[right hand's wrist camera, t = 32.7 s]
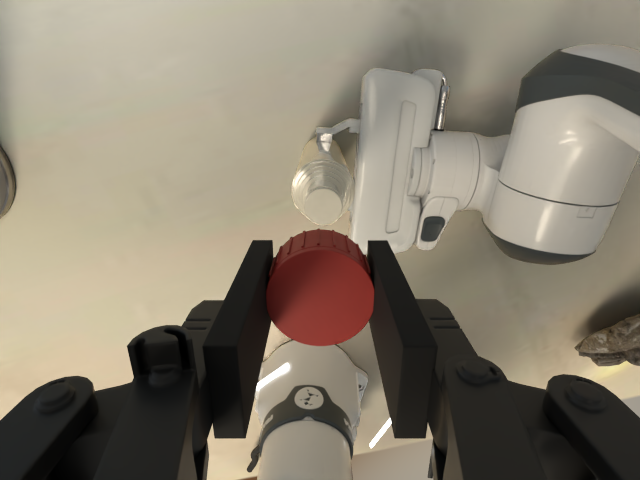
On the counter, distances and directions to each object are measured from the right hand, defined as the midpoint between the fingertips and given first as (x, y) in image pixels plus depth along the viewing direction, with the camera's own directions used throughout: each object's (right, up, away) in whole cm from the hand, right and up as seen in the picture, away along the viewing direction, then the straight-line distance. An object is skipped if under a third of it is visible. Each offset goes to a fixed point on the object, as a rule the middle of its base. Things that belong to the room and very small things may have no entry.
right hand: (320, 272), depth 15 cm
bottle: (0, +12, +33) cm, 35 cm away
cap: (0, -1, -2) cm, 2 cm away
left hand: (-1, +10, +27) cm, 29 cm away
